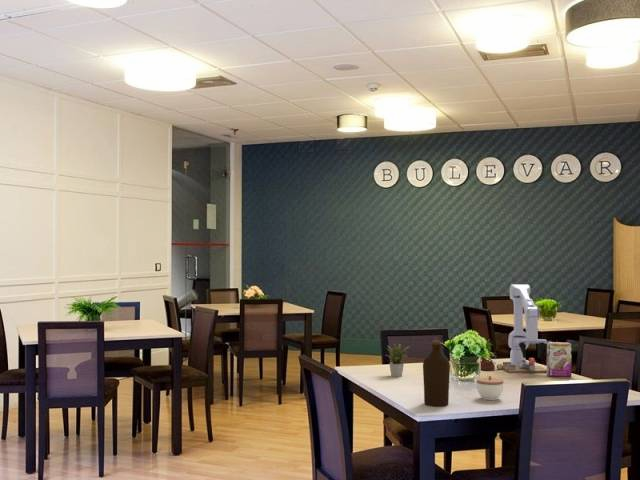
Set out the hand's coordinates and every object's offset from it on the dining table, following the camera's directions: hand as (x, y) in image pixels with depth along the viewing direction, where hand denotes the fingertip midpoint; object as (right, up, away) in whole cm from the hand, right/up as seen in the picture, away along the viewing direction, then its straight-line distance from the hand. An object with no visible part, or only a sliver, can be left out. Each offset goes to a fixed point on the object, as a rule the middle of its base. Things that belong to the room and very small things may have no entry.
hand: (531, 357), depth 356 cm
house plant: (-69, -7, -12) cm, 70 cm away
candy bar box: (+11, -8, -8) cm, 16 cm away
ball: (-14, -8, +11) cm, 19 cm away
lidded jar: (-37, -6, -66) cm, 76 cm away
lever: (-1, -6, +7) cm, 9 cm away
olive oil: (-61, -6, -77) cm, 98 cm away
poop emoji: (-20, -8, +11) cm, 24 cm away
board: (-1, -8, +8) cm, 11 cm away
